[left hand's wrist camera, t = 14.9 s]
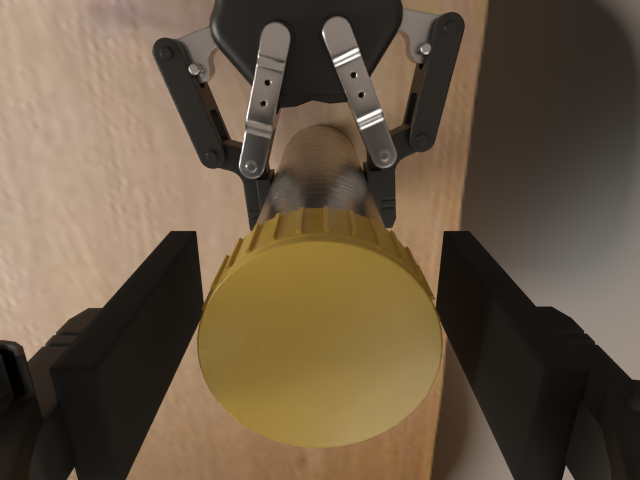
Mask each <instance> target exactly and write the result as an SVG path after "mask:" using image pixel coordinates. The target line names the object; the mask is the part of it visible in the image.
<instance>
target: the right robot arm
mask: <svg viewBox="0 0 640 480" xmlns="http://www.w3.org/2000/svg"><path fill="white" fill-rule="evenodd" d="M464 28H465V24H464V20H463V18H462V17H461V16H460V15H459V14H457V13H454V12H449V13H445V14H442V15H436V14H430V13H425V12H420V11H415V10H410V9H405V8H403V6H402V2H401V0H215V5H214V9H213V12H212V14H211V17H210V26H208V27H206V28H203V29H201V30H198V31H196V32H193V33H191V34H188V35H186V36H183V37H181V38H178V39H170V38H161V39H159V40H157V41H156V42H155V44H154V46H153V56H154V59H155V61H156V63H157V65H158V68H159V70H160V72H161V74H162V76H163V79H164V81H165V83H166V85H167V88H168V90H169V92H170V94H171V96H172V99H173V101H174V103H175V105H176V108H177V110H178V112H179V114H180V116H181V119H182V121H183V123H184V125H185V127H186V130H187V132H188V134H189V136H190V139H191V141H192V143H193V145H194V147H195V150H196V152H197V154H198V156H199V159H200V161H201V162H202V164H203V165H204V166H206V167H208V168H211V169H215V168H221V169H225V170H229V171H232V172H235V173H236V174H238V175H239V176H240V178H241V179H242V181H243V185H244V191H245V198H246V205H247V210H248V218H249V225H250V230H251V231H252V230H253V229H254V226H255V225H256V223H257V220H258V218H259V215H260V213H261V210H262V208H263V205H264V203H265V200H266V198H267V195H268V193H269V190H270V188H271V185H272V183H273V180H274V177H275V172H274V169H271V170H270V167H269V158H270V154H271V149H272V145H273V140H274V135H275V131H276V127H277V123H278V119H279V115H280V110H281V108H284V107H295V106H298V105H301V104H304V103H306V102H309V101H312V100H314V101H320V102H325V103H341V102H347V103H348V105H349V108H350V110H351V113H352V115H353V117H354V120H355V122H356V124H357V127H358V129H359V132H360V134H361V137H362V139H363V142H364V144H365V147H366V150H367V162H363V173H364V175H365V178H366V180H367V183H368V185H369V188H370V190H371V193H372V195H373V198H374V200H375V203H376V206H377V208H378V211H379V213H380V216H381V218H382V221H383V223H384V226H385V228H392V227H393V224H394V222H395V219H396V207H395V206H396V203H395V168H396V165H397V164H398V162H399V161H400V160H401V159H403V158H404V157H406V156H408V155H411V154H413V153H415V152H425V151H428V150H429V149H430V148H431V147H432V146H433V145H434V142H435V139H436V135H437V131H438V127H439V124H440V120H441V116H442V112H443V108H444V105H445V101H446V97H447V93H448V89H449V86H450V82H451V78H452V74H453V71H454V67H455V63H456V59H457V55H458V52H459V48H460V44H461V40H462V36H463V33H464ZM397 32H398V33H400V34H401V35H402V36H403V37H404V39H405V41H406V55H407V57H408V59H409V60H410V61H411V62H413V63H417V64H416V68H415V72H414V77H413V81H412V85H411V89H410V94H409V98H408V102H407V106H406V111H405V115H404V119H403V123H402V125H401V126H399V127H397V128H395V129H393V130H390V131H389V130H388V127H387V125H386V122H385V119H384V116H383V112H382V109H381V106H380V104H379V101H378V98H377V96H376V93H375V90H374V88H373V85H372V83H371V80H370V76H371V75H372V73H373V71H374V70H375V68H376V66H377V65H378V63H379V61H380V60H381V58H382V56H383V55H384V53H385V51H386V50H387V48H388V47H389V45H390V43H391V42H392V40H393V38H394V37H395V35H396V33H397ZM219 49H220V50H221V51H222V52H223V54H224V55H225V56H226V57H227V58H228V59H229V61H230V62H231V63H232V64H233V65H234V66H235V67H236V69H237V70H238V71H239V72H240V73H241V74H242V75H243V77H244V78H245V79H246V80H247V81H248V82H249V84H250V85H251V86H252V91H251V97H250V102H249V107H248V112H247V118H246V125H245V126H246V130H245V135H244V141H243V143H241V142H238V141H234V140H231V138H230V135H229V133H228V131H227V128H226V126H225V123H224V121H223V119H222V116H221V114H220V112H219V109H218V107H217V104H216V102H215V100H214V97H213V95H212V92H211V90H210V88H209V85H208V83H207V82H208V81H210V80H211V79H212V78H213V76H214V74H215V67H214V62H213V58H214V55H215V53H216V51H217V50H219Z"/></svg>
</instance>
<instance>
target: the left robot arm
mask: <svg viewBox="0 0 640 480" xmlns="http://www.w3.org/2000/svg"><path fill="white" fill-rule="evenodd" d="M203 304H204V301H203V291H202V282H201V273H200V263H199V254H198V244H197V235H196V231H171V232H170V233H169V234H168V235H167V236H166V237H165V238H164V239H163V241H162V242H161V243H160V244H159V245H158V246H157V247H156V248H155V250H154V251H153V252H152V253H151V254H150V255H149V256H148V257H147V259H146V260H145V261H144V262H143V263H142V264H141V265H140V266H139V268H138V269H137V270H136V271H135V272H134V273H133V274H132V275H131V277H130V278H129V279H128V280H127V281H126V282H125V283H124V284H123V286H122V287H121V288H120V289H119V290H118V291H117V292H116V293H115V295H114V296H113V297H112V298H111V299H110V300H109V301H108V303H107V304H106V305H105V306H104V307H103V308H88V309H86V310H85V311H83V312H81V313H80V314H78V315H76V316H74V317H73V318H71V319H69V320H68V321H67V322H66V323H65V324H64V325H63V326H62V327H61V328H60V329H59V330H58V331H57V332H56V335H53V337H52V338H51V339H50V340H49V341H48V342H47V343H46V344H45V347H42V348H41V349H40V350H39V351H38V352H37V353H36V354H35V355H34V356H33V357H32V358H31V359H30V360H29V361H28V362H27V360H26V356H25V353H24V349H23V347H22V346H21V345H19V344H18V343H16V342H12V341H5V340H0V480H67V478H68V477H69V475H70V473H71V472H72V470H73V468H74V467H75V470H76V474H77V478H78V480H126V478H127V476H128V474H129V471H130V469H131V467H132V465H133V463H134V461H135V459H136V456H137V454H138V452H139V450H140V448H141V446H142V444H143V441H144V439H145V437H146V435H147V433H148V431H149V429H150V426H151V424H152V422H153V420H154V418H155V416H156V414H157V411H158V409H159V407H160V405H161V403H162V401H163V399H164V396H165V394H166V392H167V390H168V388H169V386H170V384H171V381H172V379H173V377H174V375H175V373H176V371H177V369H178V366H179V364H180V362H181V360H182V358H183V356H184V354H185V351H186V349H187V347H188V345H189V343H190V341H191V339H192V336H193V334H194V332H195V330H196V328H197V326H198V324H199V321H200V319H201V317H202V314H203V311H204V310H202V306H203ZM436 310H437V312H438V315H439V317H440V321H441V324H442V326H443V328H444V330H445V332H446V334H447V336H448V339H449V341H450V343H451V345H452V347H453V349H454V351H455V354H456V356H457V358H458V360H459V362H460V364H461V366H462V369H463V371H464V373H465V375H466V377H467V379H468V381H469V384H470V386H471V388H472V390H473V392H474V394H475V396H476V399H477V401H478V403H479V405H480V407H481V409H482V411H483V414H484V416H485V418H486V420H487V422H488V424H489V426H490V428H491V431H492V433H493V435H494V437H495V439H496V441H497V444H498V446H499V448H500V450H501V452H502V454H503V456H504V459H505V461H506V463H507V465H508V467H509V469H510V471H511V474H512V476H513V478H514V480H562V478H563V474H564V470H565V466H567V468H568V469H569V471H570V472H571V474H572V476H573V477H574V479H575V480H640V380H632V379H631V378H630V377H629V376H628V375H627V374H626V373H625V372H624V371H623V370H622V369H621V368H620V367H619V366H618V365H617V364H616V363H615V362H614V361H613V360H612V359H611V358H610V357H609V356H608V355H607V354H606V353H605V352H604V351H603V350H602V349H601V348H600V347H599V346H598V345H595V342H594V341H593V340H592V339H591V337H589V335H588V334H584V330H583V329H582V328H581V327H580V326H579V325H578V324H577V323H576V322H575V321H574V320H573V319H572V318H571V317H569V316H567V315H565V314H564V313H562V312H560V311H558V310H556V309H555V308H553V307H536V306H535V305H534V304H533V303H532V301H531V300H530V299H529V298H528V297H527V296H526V295H525V294H524V292H523V291H522V290H521V289H520V288H519V287H518V286H517V285H516V283H515V282H514V281H513V280H512V279H511V278H510V277H509V276H508V274H507V273H506V272H505V271H504V270H503V269H502V268H501V266H500V265H499V264H498V263H497V262H496V261H495V260H494V259H493V257H492V256H491V255H490V254H489V253H488V252H487V251H486V250H485V248H484V247H483V246H482V245H481V244H480V243H479V242H478V241H477V239H476V238H475V237H474V236H473V235H472V234H471V233H470V232H469V231H444V235H443V244H442V254H441V263H440V273H439V282H438V291H437V301H436Z"/></svg>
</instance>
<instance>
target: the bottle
mask: <svg viewBox="0 0 640 480" xmlns="http://www.w3.org/2000/svg"><path fill="white" fill-rule="evenodd" d="M324 206H329V208H331V209H339V210H344V211H348V210H349V209H350V210H353V213H355V214H358V215H361V216H364V217H366V218H368V219H371V218H374V219H375V220H376V223H378V224H379V225H380V226H382V227H383V228H385V226H384V223H383V221H382V218H381V216H380V213H379V211H378V208H377V206H376V203H375V200H374V198H373V195H372V193H371V190H370V188H369V185H368V183H367V180H366V178H365V175H364V173H363V170H362V168H361V165H360V163H359V160H358V158H357V155H356V152H355V150H354V147H353V145H352V144H351V142H350V141H349V139H348V138H347V137H346V136H345V135H344V134H343V133H341V132H340V131H338V130H336V129H334V128H332V127H328V126H312V127H308V128H306V129H304V130H302V131H300V132H299V133H297V134H296V135H295V136H294V137H293V138H292V139H291V141H290V142H289V143H288V145H287V147H286V150H285V152H284V155H283V157H282V160H281V162H280V165H279V167H278V170H277V172H276V175H275V177H274V180H273V183H272V185H271V188H270V190H269V193H268V195H267V198H266V200H265V203H264V205H263V208H262V210H261V213H260V215H259V218H258V220H257V223H256V224H258V223H259V225H261V224H263V223H264V222H266V221H268V220H270V219H272V218H274V217H275V216H276V214H277V213H280V214H285V213H288V212H291V211H295V210H299V207H304V209H307V208H324ZM385 229H386V228H385Z"/></svg>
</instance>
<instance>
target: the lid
mask: <svg viewBox="0 0 640 480" xmlns="http://www.w3.org/2000/svg"><path fill="white" fill-rule="evenodd" d="M210 288H211V290H210V292H209V294H208V296H207V298H206V300H205V302H204V304H203V306H202V310H204V311H203V314H202V317H201V321H200V324H199V330H198V337H197V344H198V357H199V363H200V367H201V370H202V373H203V376H204V379H205V381H206V383H207V385H208V387H209V389H210V391H211V392H212V394H213V395H214V397H215V398H216V399H217V401H218V402H219V403H220V404H221V406H222V407H223V408H224V409H225V410H226V411H227V412H228V413H229V414H230V415H231V416H233V417H234V418H235V419H236V420H237V421H239V422H240V423H242V424H243V425H244V426H246V427H247V428H249V429H251V430H253V431H255V432H256V433H258V434H260V435H262V436H265V437H267V438H270V439H273V440H275V441H279V442H282V443H286V444H290V445H296V446H302V447H315V448H322V447H337V446H344V445H350V444H354V443H358V442H362V441H364V440H367V439H370V438H373V437H375V436H377V435H379V434H381V433H384V432H386V431H388V430H389V429H391V428H392V427H394V426H396V425H397V424H399V423H400V422H401V421H402V420H404V419H405V418H406V417H407V416H409V415H410V414H411V413H412V412H413V411H414V410H415V409H416V408H417V407H418V406H419V405H420V403H421V402H422V401H423V399H424V398H425V397H426V395H427V394H428V392H429V390H430V388H431V387H432V385H433V383H434V381H435V378H436V376H437V373H438V370H439V366H440V362H441V357H442V345H443V340H442V330H441V325H440V317H439V315H438V312H437V310H436V308H435V306H434V304H433V302H432V300H434V299H435V298H434V296H433V293H432V291H431V289H430V287H429V285H428V283H427V281H426V279H425V277H424V275H423V273H422V271H421V269H420V267H419V265H417V264H416V262H415V259H414V257H413V255H412V253H411V251H410V249H409V248H408V246H407V247H405V248H404V246H403V245H402V244H401V243H400V242H399V240H398V239H397V237H396V235H395V233H394V232H393V231H392V230H391V231H390V232H389V231H388V230H386V229H385V228H383V227H382V226H380V225H379V224H378V223H376V220H375V219H374V218H371V219H368V218H366V217H364V216H361V215H358V214H355V213H353V210H350V209H349V210H348V211H344V210H339V209H331V208H329V206H324V208H307V209H304V207H299V210H295V211H291V212H288V213H285V214H280V213H277V214H276V216H275V217H274V218H272V219H270V220H268V221H266V222H264V223H263V224H261V225H259V223H258V224H256V225H255V226H254V229H253V230H252V231H251V232H250V233H249V234H248V235H246V236H245V237H244V238H243V239H241V238H239V239H238V241H237V243H236V245H235V247H234V249H233V251H232V253H231V255H230V256H227V255H226V257H225V259H224V261H223V263H222V265H221V267H220V269H219V271H218V273H217V275H216V277H215V279H214V281H213V283H212V285H211V287H210Z"/></svg>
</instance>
